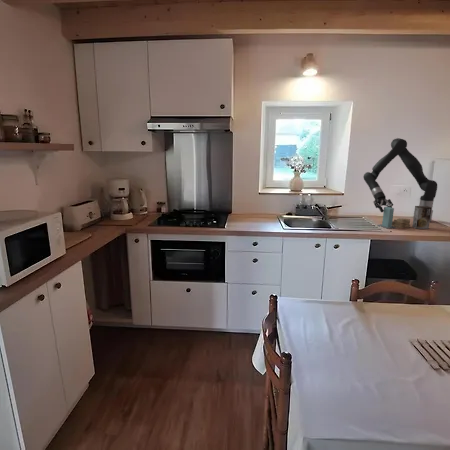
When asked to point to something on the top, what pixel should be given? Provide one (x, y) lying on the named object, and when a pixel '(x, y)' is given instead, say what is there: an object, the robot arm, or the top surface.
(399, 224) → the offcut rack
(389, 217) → the pale teal pillar
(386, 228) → the slate mat
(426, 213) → the coffee box
